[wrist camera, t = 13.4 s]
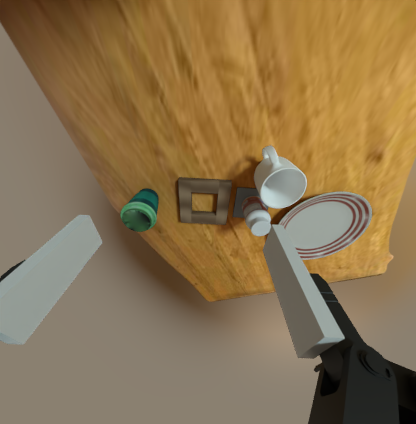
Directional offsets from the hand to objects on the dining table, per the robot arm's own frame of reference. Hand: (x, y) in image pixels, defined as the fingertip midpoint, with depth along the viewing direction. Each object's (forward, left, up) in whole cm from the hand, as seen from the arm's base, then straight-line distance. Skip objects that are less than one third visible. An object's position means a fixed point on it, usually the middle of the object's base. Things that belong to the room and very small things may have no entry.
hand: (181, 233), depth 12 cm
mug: (+4, +16, -32) cm, 36 cm away
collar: (+16, +1, -31) cm, 35 cm away
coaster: (+16, +15, -31) cm, 38 cm away
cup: (+15, -15, -32) cm, 38 cm away
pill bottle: (+16, +15, -31) cm, 38 cm away
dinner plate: (+23, +37, -32) cm, 54 cm away
